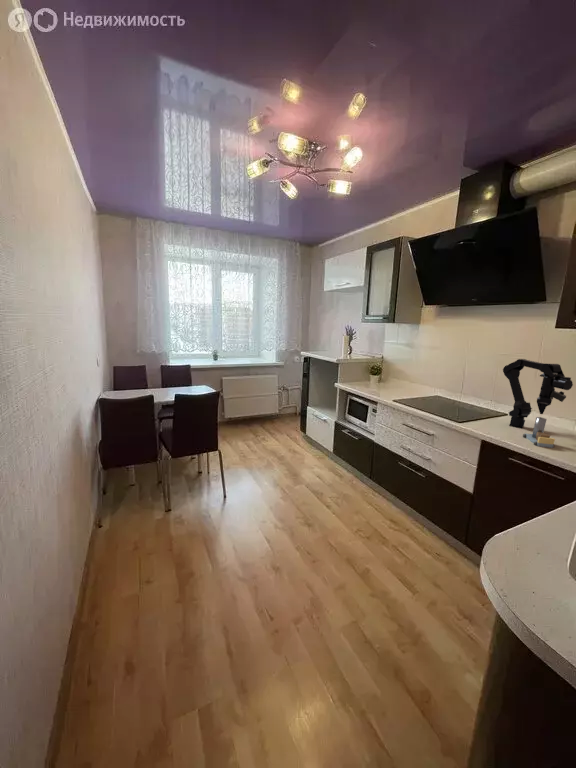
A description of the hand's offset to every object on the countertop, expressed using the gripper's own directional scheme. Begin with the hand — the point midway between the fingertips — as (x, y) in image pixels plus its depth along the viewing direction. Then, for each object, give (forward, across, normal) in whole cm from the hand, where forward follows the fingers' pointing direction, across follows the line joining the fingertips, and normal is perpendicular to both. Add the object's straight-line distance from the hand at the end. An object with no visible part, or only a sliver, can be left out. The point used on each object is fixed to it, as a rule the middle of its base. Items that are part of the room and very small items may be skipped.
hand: (542, 412), depth 180 cm
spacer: (+11, -14, -1) cm, 18 cm away
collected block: (+11, -18, -3) cm, 22 cm away
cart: (+13, -16, -2) cm, 20 cm away
